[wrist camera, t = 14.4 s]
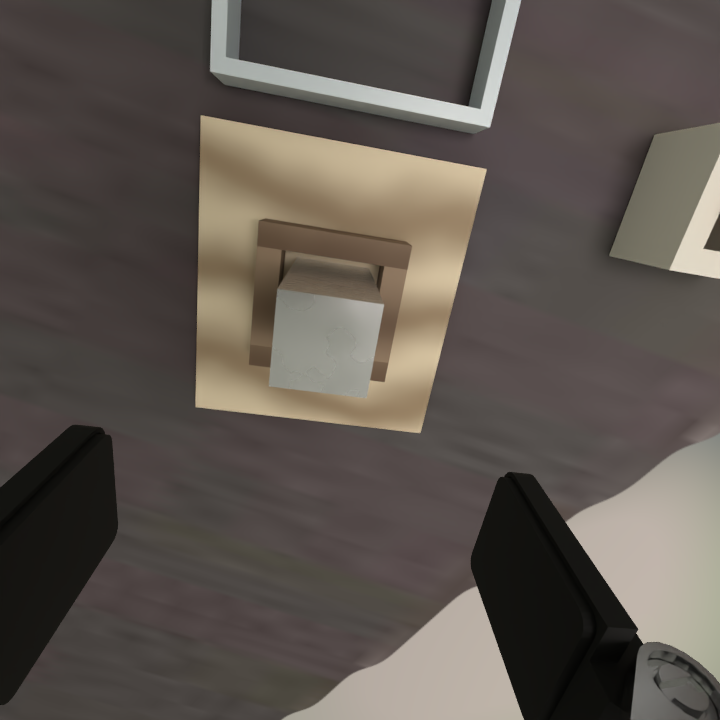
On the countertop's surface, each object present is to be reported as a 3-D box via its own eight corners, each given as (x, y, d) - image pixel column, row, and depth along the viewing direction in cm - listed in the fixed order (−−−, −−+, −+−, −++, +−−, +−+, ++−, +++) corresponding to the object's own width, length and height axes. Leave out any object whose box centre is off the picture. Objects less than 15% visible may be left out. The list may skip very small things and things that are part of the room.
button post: (654, 134, 27) (734, 119, 22) (760, 156, 28) (863, 147, 23) (608, 255, 30) (669, 270, 25) (706, 272, 31) (785, 289, 26)
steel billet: (297, 257, 28) (277, 288, 19) (369, 268, 29) (384, 304, 19) (290, 326, 30) (268, 386, 21) (358, 335, 30) (366, 398, 21)
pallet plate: (206, 118, 26) (186, 107, 22) (480, 170, 28) (500, 166, 24) (200, 399, 33) (184, 423, 30) (417, 425, 35) (426, 450, 32)
